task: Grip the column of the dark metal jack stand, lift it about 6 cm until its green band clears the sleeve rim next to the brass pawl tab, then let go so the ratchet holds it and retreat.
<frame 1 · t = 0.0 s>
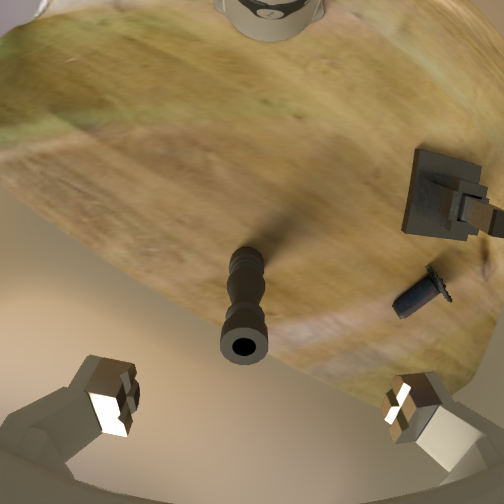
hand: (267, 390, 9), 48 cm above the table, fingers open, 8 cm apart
column: (472, 210, 45), point 11 cm above the table, slide at 0.0 cm
candle holder: (246, 262, 60), on the table
dark flanged cylinder: (413, 290, 63), on the table
stand: (441, 196, 55), on the table
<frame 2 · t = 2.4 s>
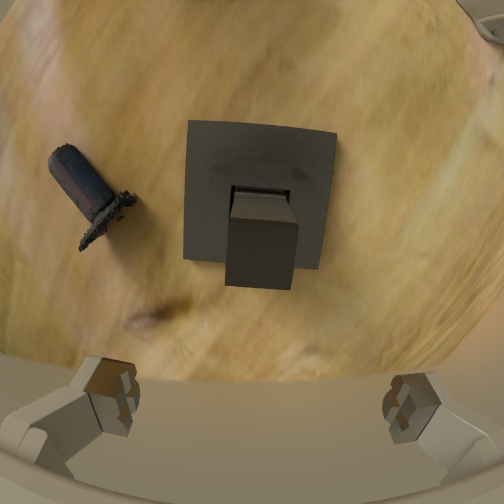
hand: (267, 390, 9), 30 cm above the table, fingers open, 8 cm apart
column: (258, 218, 27), point 11 cm above the table, slide at 0.0 cm
dark flanged cylinder: (94, 183, 37), on the table
stand: (256, 193, 37), on the table
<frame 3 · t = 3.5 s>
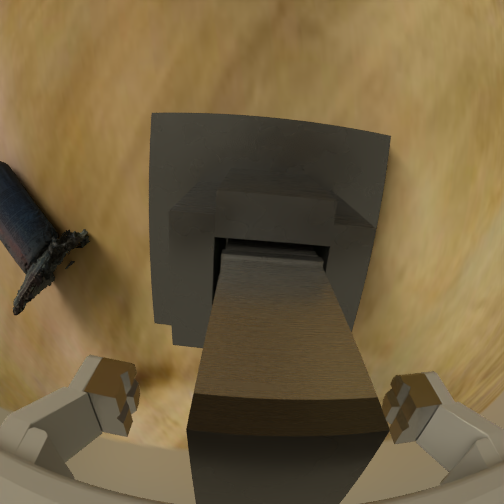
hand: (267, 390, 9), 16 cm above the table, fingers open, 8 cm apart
column: (268, 302, 14), point 11 cm above the table, slide at 0.0 cm
dark flanged cylinder: (35, 213, 24), on the table
stand: (262, 227, 24), on the table
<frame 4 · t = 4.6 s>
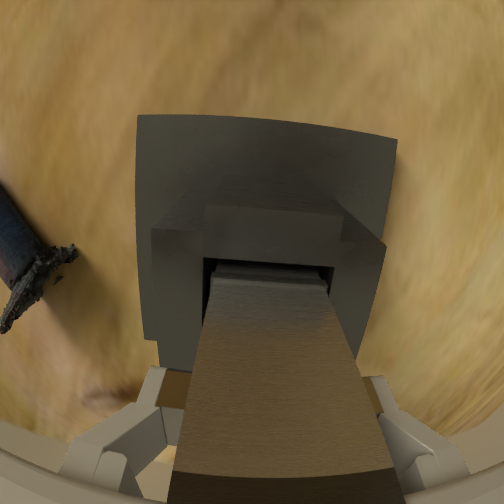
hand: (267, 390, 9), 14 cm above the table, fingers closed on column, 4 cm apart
column: (264, 330, 12), point 11 cm above the table, slide at 0.0 cm, touching gripper
dark flanged cylinder: (21, 226, 22), on the table
stand: (258, 238, 22), on the table
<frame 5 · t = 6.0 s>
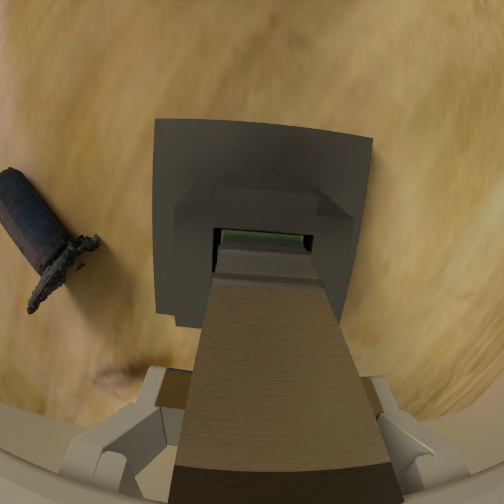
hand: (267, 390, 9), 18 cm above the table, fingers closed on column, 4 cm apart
column: (263, 329, 12), point 15 cm above the table, slide at 3.9 cm, touching gripper
dark flanged cylinder: (47, 218, 26), on the table
stand: (256, 223, 26), on the table
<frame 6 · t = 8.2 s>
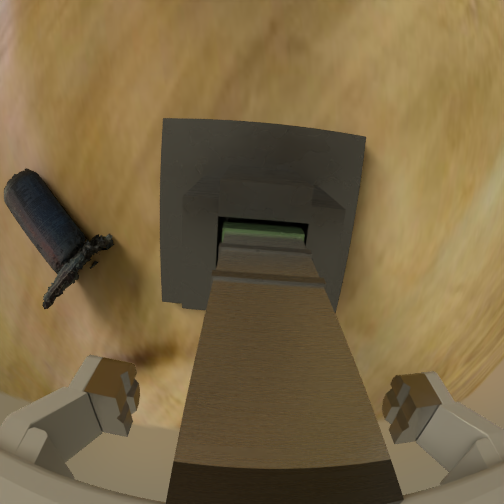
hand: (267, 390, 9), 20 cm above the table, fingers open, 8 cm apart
column: (263, 327, 12), point 17 cm above the table, slide at 5.8 cm
dark flanged cylinder: (61, 218, 28), on the table
stand: (256, 216, 28), on the table
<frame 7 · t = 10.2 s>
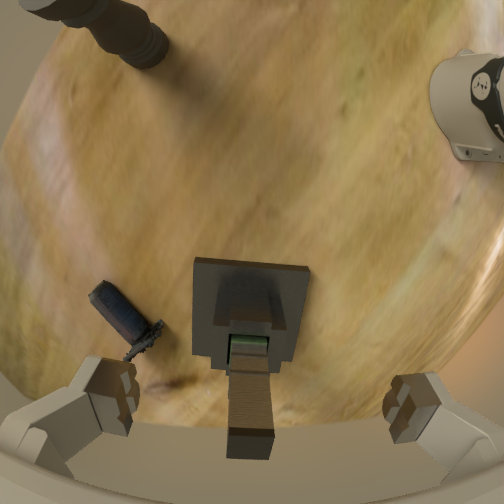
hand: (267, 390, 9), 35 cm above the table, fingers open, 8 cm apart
column: (248, 387, 33), point 17 cm above the table, slide at 5.8 cm
candle holder: (146, 48, 35), on the table
dark flanged cylinder: (126, 307, 49), on the table
stand: (246, 310, 48), on the table
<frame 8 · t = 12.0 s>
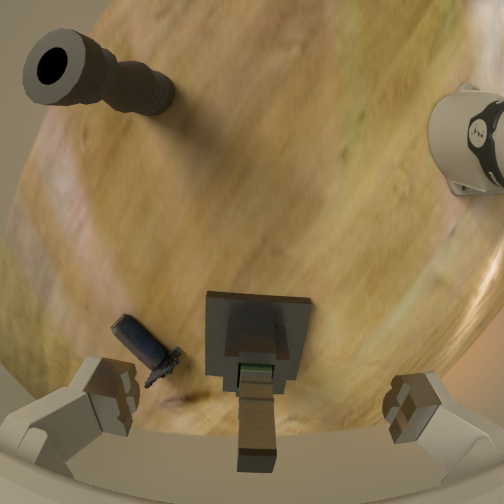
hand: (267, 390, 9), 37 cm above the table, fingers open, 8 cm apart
column: (255, 410, 37), point 17 cm above the table, slide at 5.8 cm
candle holder: (153, 94, 39), on the table
dark flanged cylinder: (146, 336, 54), on the table
stand: (254, 336, 53), on the table
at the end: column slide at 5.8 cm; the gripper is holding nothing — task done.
